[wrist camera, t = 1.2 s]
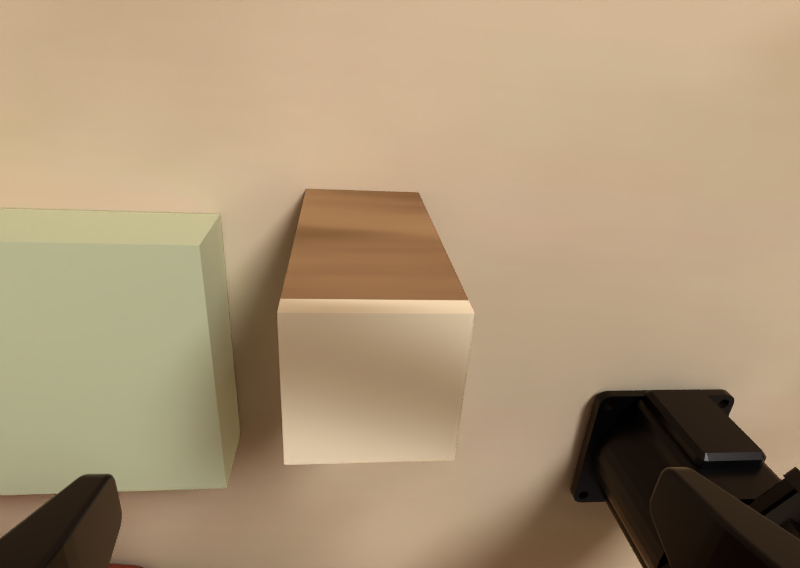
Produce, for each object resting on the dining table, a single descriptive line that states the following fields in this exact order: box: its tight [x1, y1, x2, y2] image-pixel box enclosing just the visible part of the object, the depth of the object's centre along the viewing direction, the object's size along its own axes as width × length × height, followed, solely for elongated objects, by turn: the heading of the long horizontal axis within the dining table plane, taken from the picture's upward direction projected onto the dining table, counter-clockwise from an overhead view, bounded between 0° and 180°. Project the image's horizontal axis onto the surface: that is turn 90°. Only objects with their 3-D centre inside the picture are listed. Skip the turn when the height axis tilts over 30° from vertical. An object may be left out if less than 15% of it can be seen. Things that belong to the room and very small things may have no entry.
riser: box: [0, 208, 240, 495], centre depth 19 cm, size 10×12×3 cm
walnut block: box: [277, 189, 475, 465], centre depth 15 cm, size 4×4×9 cm
